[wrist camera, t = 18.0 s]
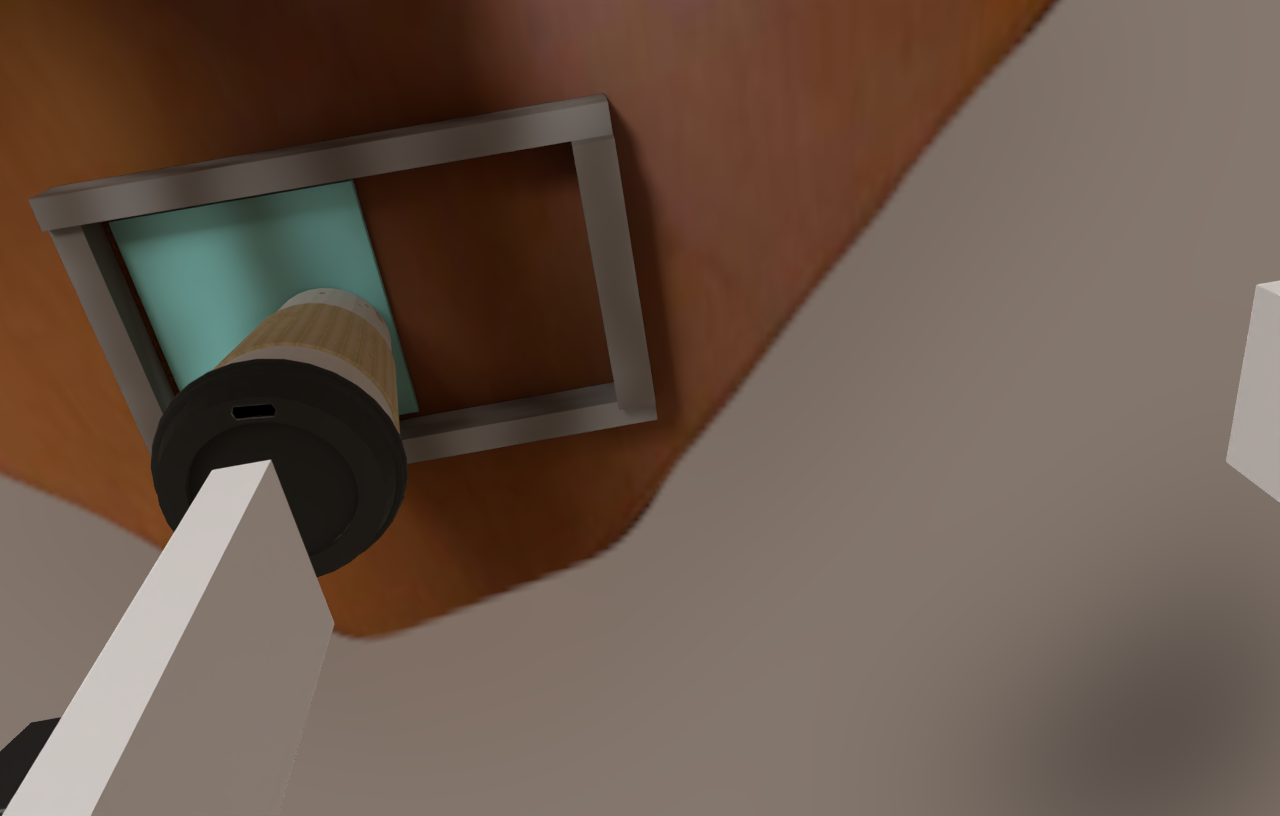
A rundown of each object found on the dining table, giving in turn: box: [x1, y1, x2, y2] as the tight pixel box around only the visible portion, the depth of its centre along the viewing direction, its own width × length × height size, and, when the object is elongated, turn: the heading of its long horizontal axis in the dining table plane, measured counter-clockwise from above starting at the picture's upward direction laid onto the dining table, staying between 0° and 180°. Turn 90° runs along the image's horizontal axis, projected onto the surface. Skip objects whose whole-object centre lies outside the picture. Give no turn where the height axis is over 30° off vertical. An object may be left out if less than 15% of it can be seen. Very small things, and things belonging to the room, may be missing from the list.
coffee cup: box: [151, 288, 408, 577], centre depth 43 cm, size 10×10×15 cm
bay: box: [28, 94, 658, 464], centre depth 47 cm, size 27×17×4 cm, turn 98°
